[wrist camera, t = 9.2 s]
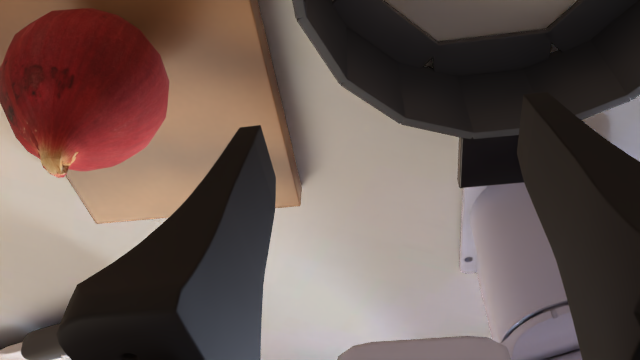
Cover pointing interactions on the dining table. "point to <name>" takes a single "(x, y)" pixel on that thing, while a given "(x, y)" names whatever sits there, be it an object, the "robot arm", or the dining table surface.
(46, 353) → the kitchen knife
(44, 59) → the onion
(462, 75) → the cooking pot
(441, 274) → the dining table surface
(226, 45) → the cutting board
